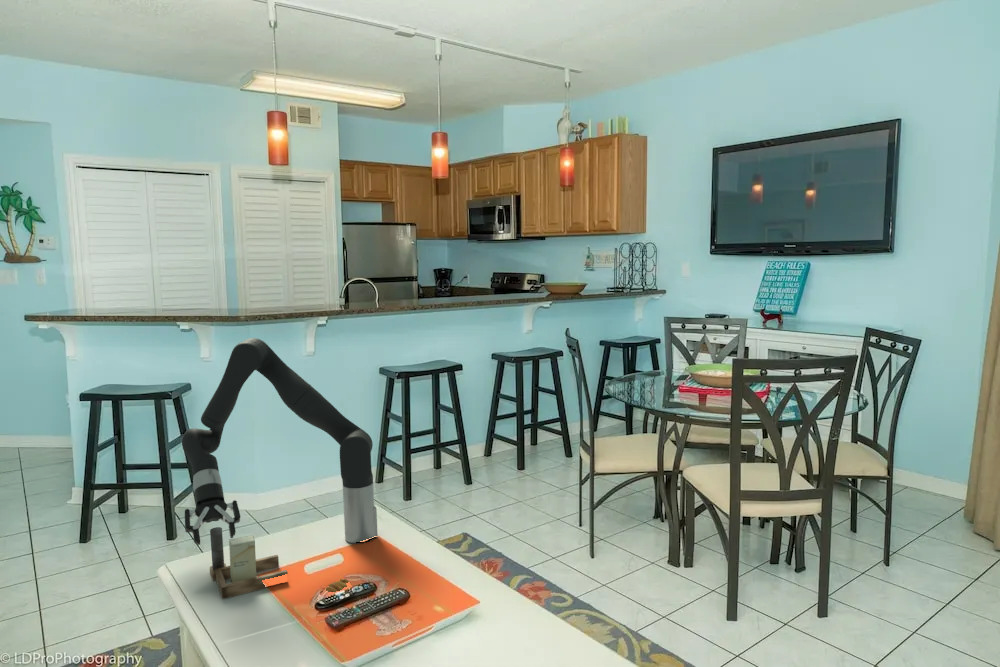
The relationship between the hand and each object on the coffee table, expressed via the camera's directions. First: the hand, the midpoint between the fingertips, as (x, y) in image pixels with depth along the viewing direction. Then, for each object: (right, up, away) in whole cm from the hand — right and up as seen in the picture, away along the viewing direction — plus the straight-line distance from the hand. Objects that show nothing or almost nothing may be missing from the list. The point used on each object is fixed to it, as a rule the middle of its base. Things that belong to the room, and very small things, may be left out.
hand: (215, 540), depth 180 cm
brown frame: (+10, -9, -4) cm, 14 cm away
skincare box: (+11, -10, -7) cm, 16 cm away
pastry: (+37, -10, -16) cm, 42 cm away
